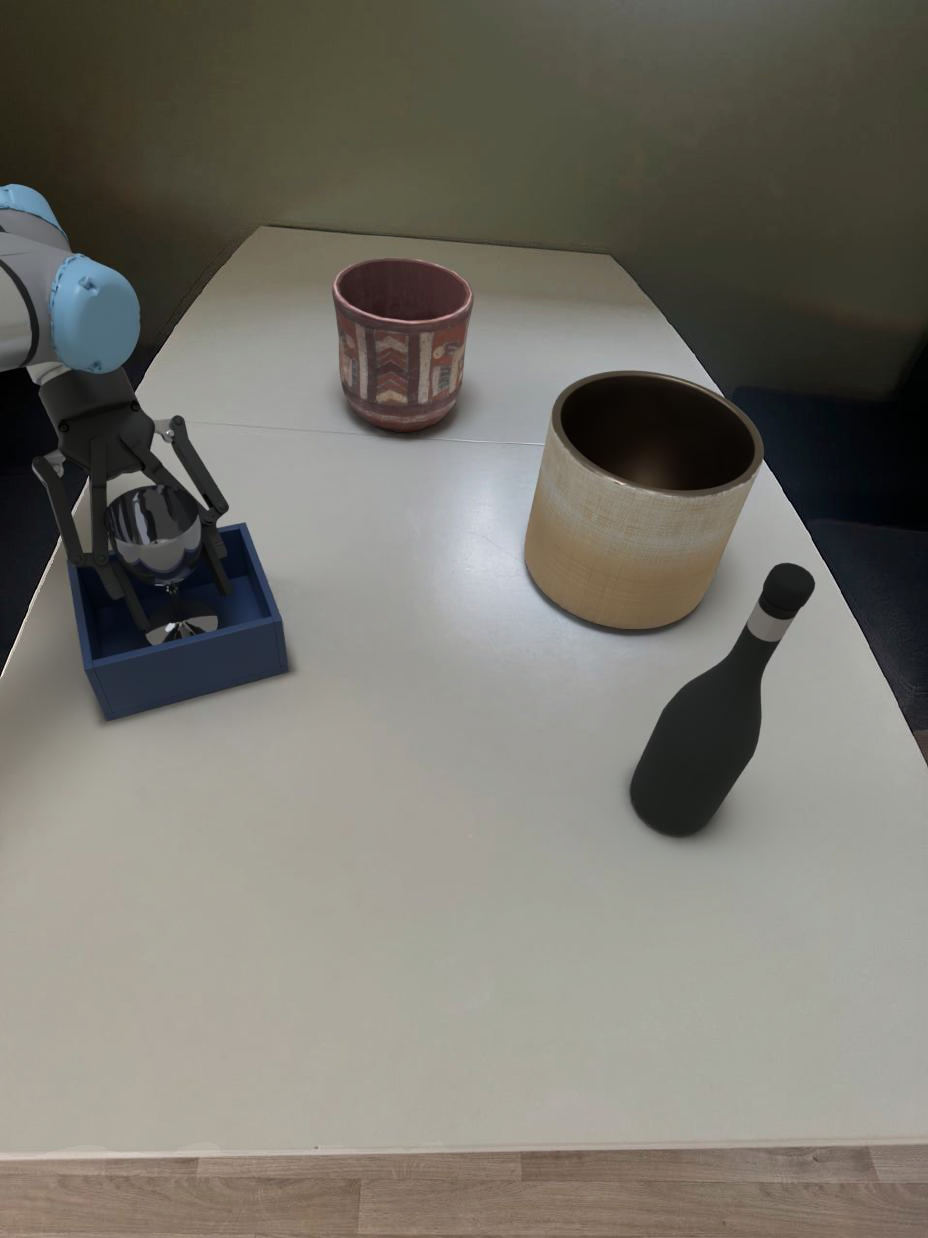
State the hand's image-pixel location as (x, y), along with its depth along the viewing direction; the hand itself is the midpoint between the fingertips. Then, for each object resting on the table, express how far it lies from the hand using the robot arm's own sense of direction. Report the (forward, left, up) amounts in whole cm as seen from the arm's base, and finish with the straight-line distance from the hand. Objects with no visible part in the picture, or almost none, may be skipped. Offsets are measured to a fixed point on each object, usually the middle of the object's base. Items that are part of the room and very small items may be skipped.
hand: (186, 610), depth 75 cm
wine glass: (-1, +3, -6) cm, 7 cm away
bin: (-1, +3, -8) cm, 9 cm away
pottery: (+35, +36, -8) cm, 51 cm away
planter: (+48, -2, -8) cm, 49 cm away
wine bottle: (+37, -31, -8) cm, 49 cm away
